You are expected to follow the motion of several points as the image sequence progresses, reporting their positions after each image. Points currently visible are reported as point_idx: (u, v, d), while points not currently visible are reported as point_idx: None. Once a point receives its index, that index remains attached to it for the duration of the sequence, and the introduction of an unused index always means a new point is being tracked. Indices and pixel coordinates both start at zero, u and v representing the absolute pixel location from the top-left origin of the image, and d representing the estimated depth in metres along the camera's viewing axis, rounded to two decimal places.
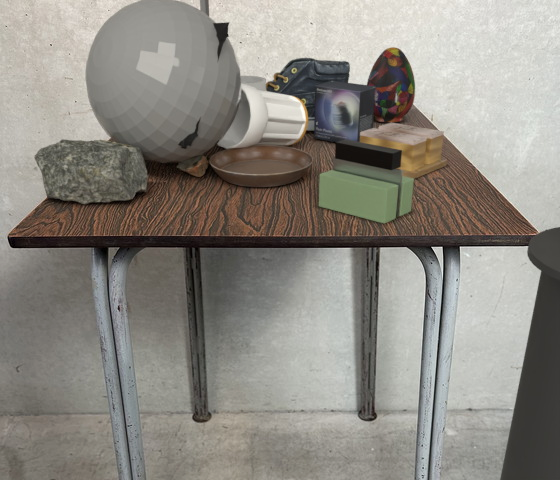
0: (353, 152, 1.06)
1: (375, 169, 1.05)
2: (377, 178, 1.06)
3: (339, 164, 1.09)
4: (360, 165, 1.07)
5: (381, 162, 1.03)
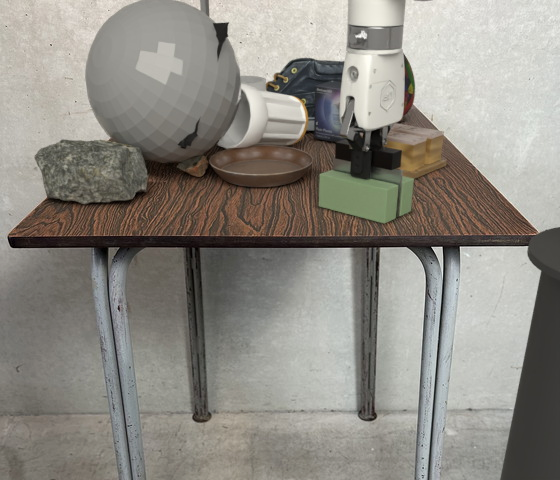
0: None
1: (375, 169, 1.05)
2: (377, 178, 1.06)
3: (339, 164, 1.09)
4: None
5: (381, 162, 1.03)
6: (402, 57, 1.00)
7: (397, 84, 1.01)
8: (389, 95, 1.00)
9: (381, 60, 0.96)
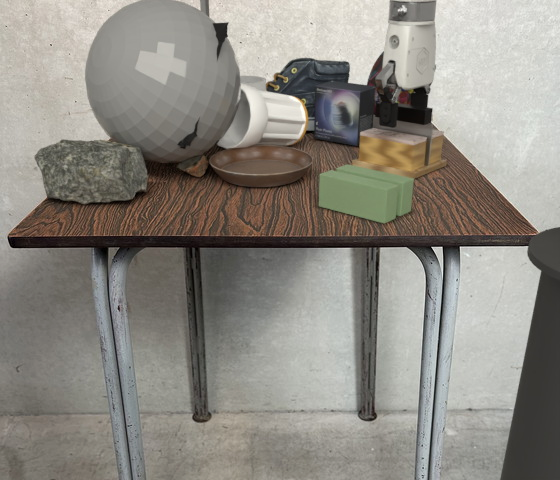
0: None
1: (409, 125, 1.26)
2: (411, 132, 1.26)
3: (378, 122, 1.30)
4: (397, 122, 1.27)
5: (415, 118, 1.23)
6: (434, 28, 1.20)
7: (430, 51, 1.21)
8: (423, 60, 1.20)
9: (417, 30, 1.16)
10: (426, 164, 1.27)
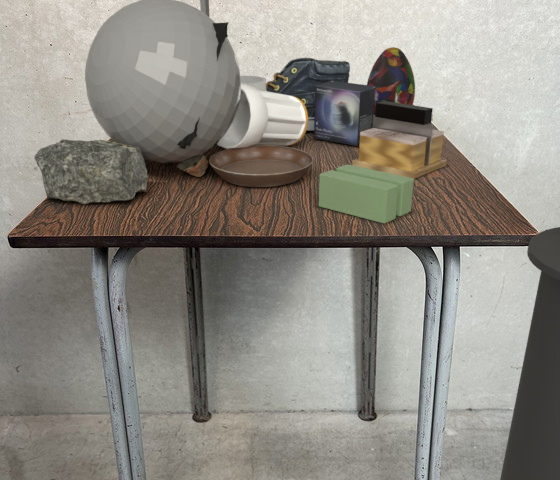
0: (391, 111, 1.26)
1: (409, 125, 1.26)
2: (411, 132, 1.26)
3: (378, 122, 1.30)
4: (397, 122, 1.27)
5: (415, 118, 1.23)
6: None
7: None
8: None
9: None
10: (426, 164, 1.27)
